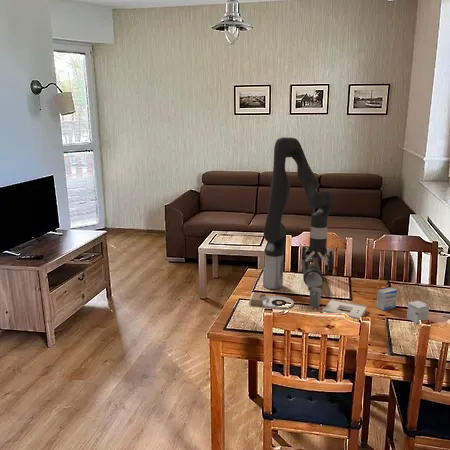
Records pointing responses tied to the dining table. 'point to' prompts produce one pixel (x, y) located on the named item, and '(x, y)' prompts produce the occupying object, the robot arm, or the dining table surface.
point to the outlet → (345, 308)
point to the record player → (268, 300)
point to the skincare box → (417, 311)
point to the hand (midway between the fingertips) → (316, 270)
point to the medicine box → (386, 298)
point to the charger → (315, 297)
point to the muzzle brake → (312, 273)
